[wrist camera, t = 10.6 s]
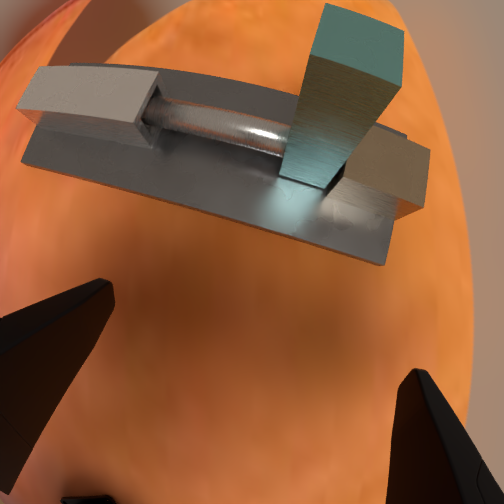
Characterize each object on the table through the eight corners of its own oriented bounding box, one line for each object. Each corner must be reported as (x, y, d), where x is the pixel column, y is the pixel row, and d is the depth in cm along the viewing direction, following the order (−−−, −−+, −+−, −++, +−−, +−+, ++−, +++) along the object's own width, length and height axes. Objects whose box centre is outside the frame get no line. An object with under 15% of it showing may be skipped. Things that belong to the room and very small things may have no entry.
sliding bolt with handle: (125, 137, 20) (40, 33, 8) (142, 101, 20) (77, -12, 9) (380, 208, 20) (496, 137, 8) (387, 168, 20) (489, 77, 8)
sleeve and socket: (27, 165, 21) (-9, 145, 16) (75, 68, 22) (51, 37, 17) (378, 266, 21) (414, 261, 15) (401, 140, 21) (432, 110, 16)
